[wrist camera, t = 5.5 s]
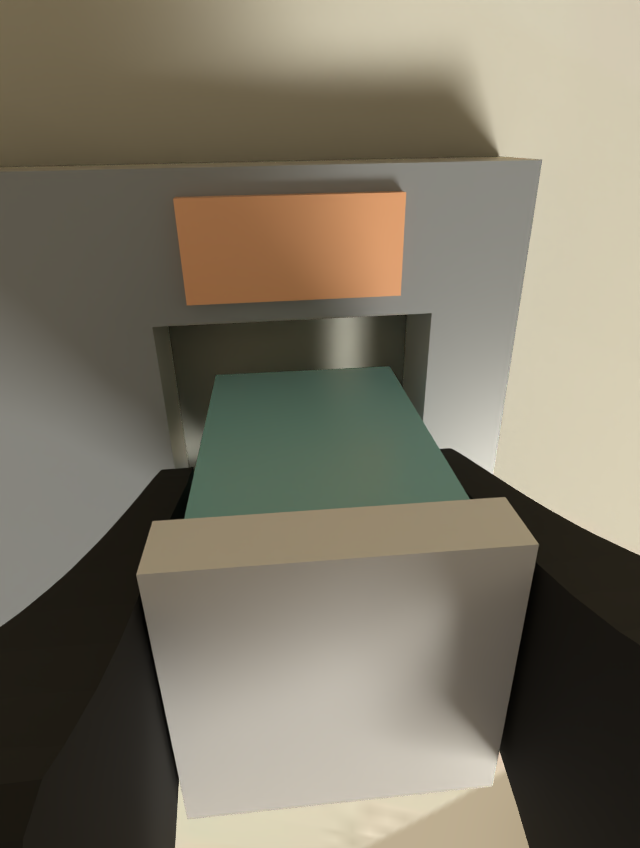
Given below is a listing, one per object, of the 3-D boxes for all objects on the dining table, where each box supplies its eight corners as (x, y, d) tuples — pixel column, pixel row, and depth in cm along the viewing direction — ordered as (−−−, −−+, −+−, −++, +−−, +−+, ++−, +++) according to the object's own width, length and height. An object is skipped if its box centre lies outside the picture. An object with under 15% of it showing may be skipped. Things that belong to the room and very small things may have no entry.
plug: (221, 530, 14) (187, 819, 8) (200, 362, 12) (135, 574, 6) (394, 518, 15) (491, 786, 8) (403, 353, 13) (538, 544, 6)
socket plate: (-244, 625, 16) (-314, 695, 14) (-550, 178, 11) (-738, 188, 9) (451, 559, 18) (476, 612, 16) (500, 156, 13) (549, 160, 11)
